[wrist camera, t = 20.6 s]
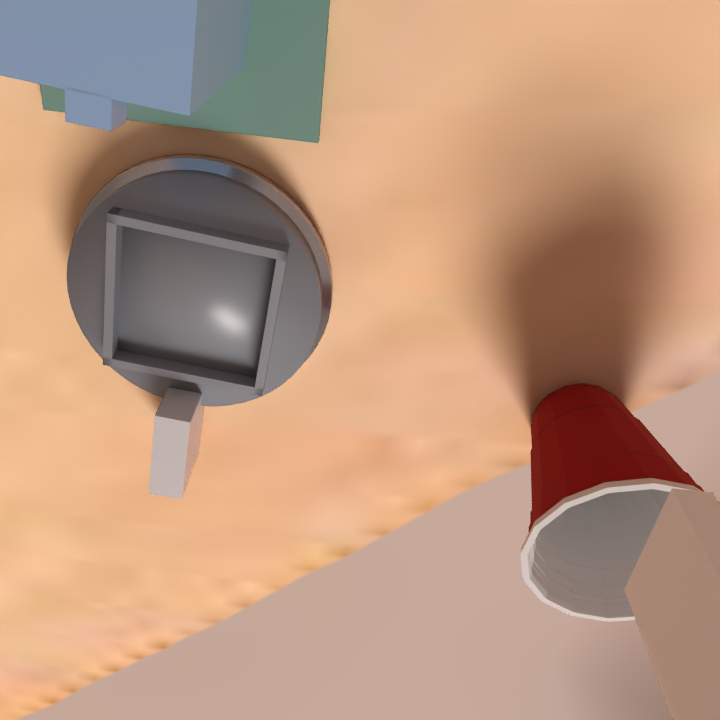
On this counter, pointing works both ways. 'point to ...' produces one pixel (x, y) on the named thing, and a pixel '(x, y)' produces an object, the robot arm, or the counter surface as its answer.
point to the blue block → (125, 52)
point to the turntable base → (249, 179)
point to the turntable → (194, 300)
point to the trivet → (259, 78)
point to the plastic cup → (592, 501)
